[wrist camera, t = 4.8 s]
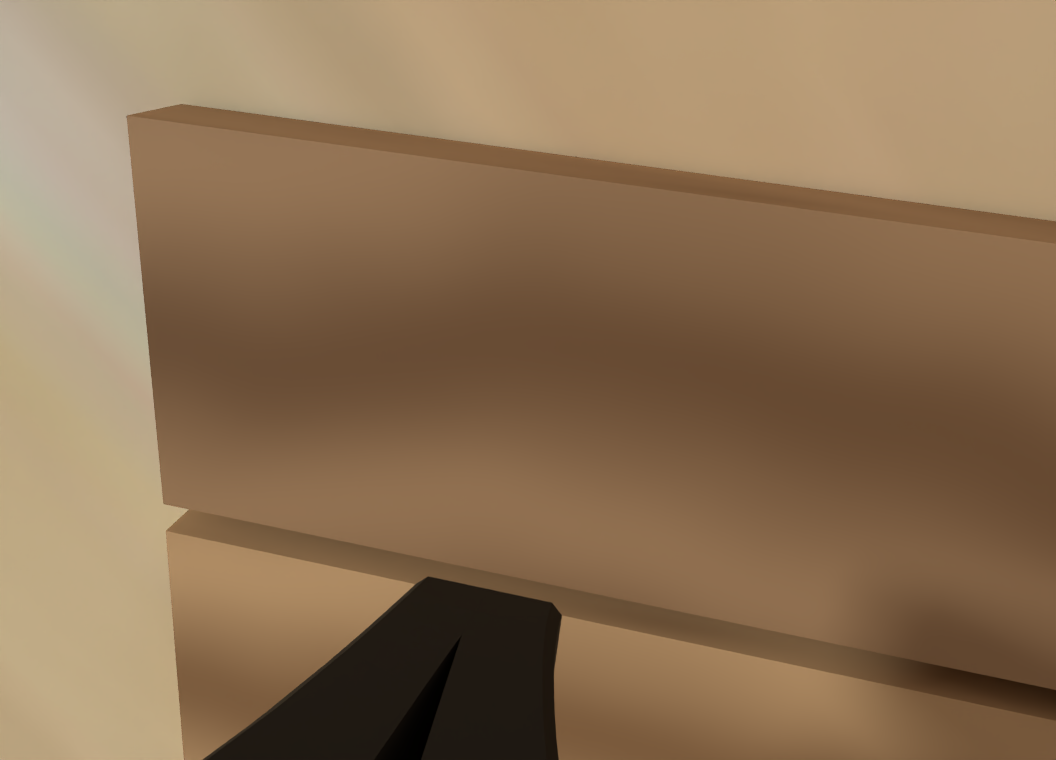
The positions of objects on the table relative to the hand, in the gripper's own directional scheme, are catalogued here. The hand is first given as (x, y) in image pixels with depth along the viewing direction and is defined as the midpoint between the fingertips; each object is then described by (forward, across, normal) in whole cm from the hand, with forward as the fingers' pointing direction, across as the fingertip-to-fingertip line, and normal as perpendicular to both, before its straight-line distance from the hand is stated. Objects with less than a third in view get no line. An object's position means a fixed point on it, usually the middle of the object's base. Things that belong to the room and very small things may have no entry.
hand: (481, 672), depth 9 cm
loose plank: (+7, -4, 0) cm, 8 cm away
